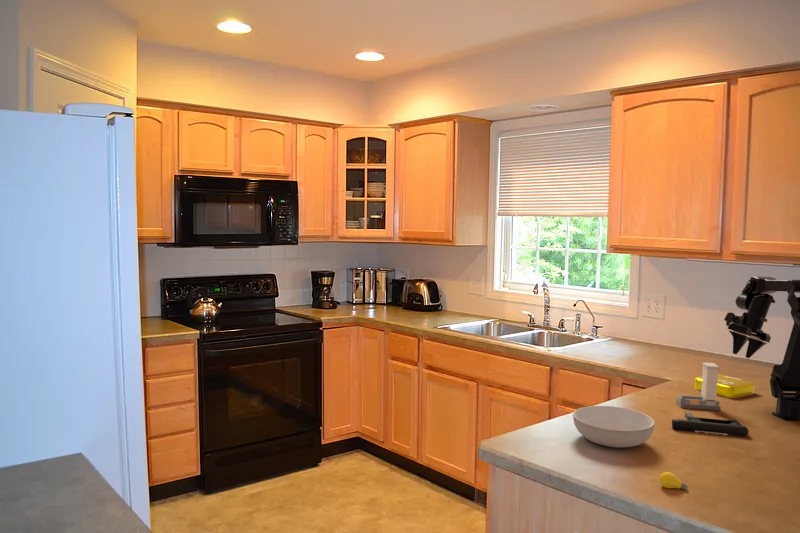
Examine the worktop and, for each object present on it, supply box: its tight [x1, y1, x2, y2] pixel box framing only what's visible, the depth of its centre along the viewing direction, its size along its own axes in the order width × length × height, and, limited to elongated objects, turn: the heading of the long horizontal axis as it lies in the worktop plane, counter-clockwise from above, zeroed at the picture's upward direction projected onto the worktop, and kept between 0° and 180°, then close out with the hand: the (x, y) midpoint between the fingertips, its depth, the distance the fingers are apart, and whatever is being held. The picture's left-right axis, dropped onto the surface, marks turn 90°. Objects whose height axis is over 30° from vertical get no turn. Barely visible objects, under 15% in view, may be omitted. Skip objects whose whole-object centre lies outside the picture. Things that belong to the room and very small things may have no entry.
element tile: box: [694, 373, 755, 399], centre depth 223 cm, size 15×15×5 cm
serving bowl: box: [572, 405, 656, 448], centre depth 168 cm, size 21×21×7 cm
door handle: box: [671, 412, 750, 437], centre depth 183 cm, size 3×20×16 cm
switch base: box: [676, 394, 721, 411], centre depth 202 cm, size 12×5×3 cm, turn 80°
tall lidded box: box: [700, 362, 720, 401], centre depth 202 cm, size 4×5×13 cm
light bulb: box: [659, 471, 689, 491], centre depth 139 cm, size 3×6×4 cm, turn 74°
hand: (740, 355), depth 211 cm, fingers open, 9 cm apart
